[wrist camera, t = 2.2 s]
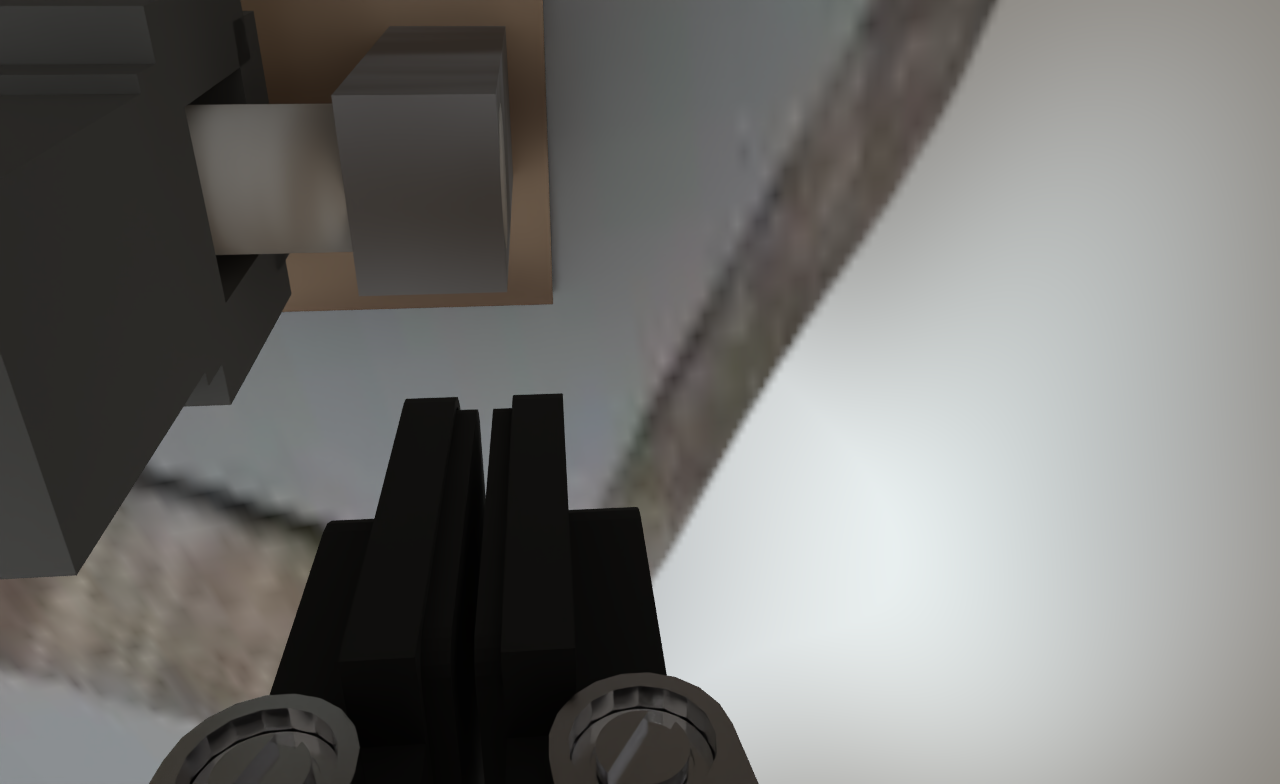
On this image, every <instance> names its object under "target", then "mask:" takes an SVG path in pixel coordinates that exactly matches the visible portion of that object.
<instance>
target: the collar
mask: <svg viewBox="0 0 1280 784" xmlns="http://www.w3.org/2000/svg"><path fill="white" fill-rule="evenodd" d="M232 104H269V99H268V93H267V87H266V81H265V75H264V70H263V64H262V58H261V52H260V46H259V40H258V34H257V28H256V22H255V16H254V11H242V7H241V1H240V0H0V579H15V578H34V577H53V576H72V575H77V574H78V572H79V571H80V569H81V567H82V566H83V564H84V563H85V561H86V559H87V558H88V556H89V555H90V553H91V552H92V550H93V548H94V547H95V545H96V544H97V542H98V541H99V539H100V537H101V536H102V534H103V533H104V531H105V530H106V528H107V526H108V525H109V523H110V522H111V520H112V518H113V517H114V515H115V514H116V512H117V511H118V509H119V507H120V506H121V504H122V503H123V501H124V500H125V498H126V496H127V495H128V493H129V492H130V490H131V488H132V487H133V485H134V484H135V482H136V481H137V479H138V477H139V476H140V474H141V473H142V471H143V470H144V468H145V466H146V465H147V463H148V462H149V460H150V459H151V457H152V455H153V454H154V452H155V451H156V449H157V447H158V446H159V444H160V443H161V441H162V440H163V438H164V436H165V435H166V433H167V432H168V430H169V429H170V427H171V425H172V424H173V422H174V421H175V419H176V417H177V416H178V414H179V413H180V411H181V410H182V408H183V406H210V405H231V404H232V402H233V400H234V398H235V396H236V395H237V393H238V391H239V389H240V387H241V385H242V384H243V382H244V380H245V378H246V376H247V375H248V373H249V371H250V369H251V367H252V365H253V364H254V362H255V360H256V358H257V356H258V354H259V353H260V351H261V349H262V347H263V345H264V344H265V342H266V340H267V338H268V336H269V334H270V333H271V331H272V329H273V327H274V325H275V323H276V322H277V320H278V318H279V316H280V314H281V313H282V311H283V309H284V307H285V305H286V303H287V302H288V300H289V298H290V296H291V288H290V282H289V276H288V271H287V265H286V259H287V257H288V255H289V254H290V253H283V254H240V255H216V254H215V250H214V245H213V240H212V235H211V231H210V226H209V221H208V216H207V212H206V207H205V202H204V197H203V193H202V188H201V183H200V178H199V174H198V169H197V164H196V159H195V155H194V150H193V145H192V140H191V136H190V131H189V126H188V121H187V117H186V112H185V106H187V105H232Z"/></svg>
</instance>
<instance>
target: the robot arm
mask: <svg viewBox="0 0 1280 784" xmlns="http://www.w3.org/2000/svg"><path fill="white" fill-rule="evenodd" d="M149 784H758V781H757V779H756V777H755V775H754V772H753V770H752V767H751V765H750V763H749V760H748V758H747V756H746V754H745V751H744V749H743V747H742V744H741V742H740V740H739V737H738V735H737V733H736V730H735V728H734V726H733V724H732V722H731V721H730V719H729V718H728V716H727V714H726V713H725V711H724V710H723V708H722V707H721V705H720V704H719V703H718V702H716V700H714V699H713V698H712V697H711V696H709V695H708V694H707V693H706V692H704V691H703V690H702V689H701V688H699V687H697V686H695V685H692V684H690V683H688V682H685V681H683V680H681V679H678V678H676V677H672V676H667V674H666V668H665V662H664V656H663V650H662V643H661V637H660V631H659V625H658V620H657V613H656V607H655V601H654V595H653V589H652V583H651V577H650V570H649V564H648V558H647V552H646V546H645V540H644V534H643V528H642V522H641V516H640V512H639V509H638V507H627V508H605V509H583V510H568V491H567V472H566V452H565V432H564V412H563V394H534V395H513V400H512V408H506V409H493V418H492V430H491V442H490V454H489V466H488V478H487V490H486V498H485V484H484V471H483V458H482V445H481V432H480V420H479V412H478V410H460V404H459V400H458V397H447V398H418V399H406V400H405V402H404V405H403V409H402V413H401V417H400V421H399V425H398V429H397V433H396V436H395V440H394V444H393V448H392V452H391V456H390V460H389V464H388V468H387V472H386V476H385V479H384V483H383V487H382V491H381V495H380V499H379V503H378V507H377V511H376V515H375V518H374V519H361V520H338V521H331V522H329V523H328V524H327V526H326V528H325V530H324V532H323V535H322V538H321V541H320V544H319V547H318V550H317V553H316V556H315V559H314V562H313V565H312V568H311V571H310V574H309V577H308V580H307V583H306V586H305V589H304V592H303V595H302V598H301V601H300V604H299V607H298V610H297V614H296V617H295V620H294V623H293V626H292V629H291V632H290V635H289V638H288V641H287V644H286V647H285V650H284V653H283V656H282V659H281V662H280V665H279V668H278V671H277V674H276V677H275V680H274V683H273V686H272V689H271V692H270V695H266V696H262V697H259V698H255V699H252V700H248V701H244V702H241V703H237V704H235V705H233V706H231V707H229V708H227V709H225V710H223V711H221V712H219V713H217V714H215V715H213V716H211V717H209V718H207V719H205V720H204V721H203V722H202V723H200V724H199V725H198V726H196V727H195V728H194V729H193V730H191V731H190V732H189V733H187V734H186V735H185V736H184V737H182V738H181V739H180V741H179V742H178V743H177V744H176V746H175V747H174V748H173V749H172V751H171V752H170V753H169V754H168V755H167V757H166V758H165V759H164V760H163V762H162V763H161V765H160V767H159V768H158V770H157V771H156V773H155V775H154V776H153V778H152V780H151V781H150V783H149Z"/></svg>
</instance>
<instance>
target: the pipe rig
mask: <svg viewBox="0 0 1280 784" xmlns="http://www.w3.org/2000/svg"><path fill="white" fill-rule="evenodd" d="M240 1H241V7H242V11H254V16H255V22H256V28H257V34H258V40H259V46H260V52H261V58H262V64H263V70H264V75H265V81H266V87H267V93H268V99H269V104H232V105H187V106H185V112H186V117H187V121H188V126H189V131H190V136H191V140H192V145H193V150H194V155H195V159H196V164H197V169H198V174H199V178H200V183H201V188H202V193H203V197H204V202H205V207H206V212H207V216H208V221H209V226H210V231H211V235H212V240H213V245H214V250H215V254H216V255H240V254H283V253H290V254H289V255H288V257H287V259H286V265H287V271H288V276H289V282H290V288H291V296H290V298H289V300H288V302H287V303H286V305H285V307H284V309H283V311H282V312H293V311H328V310H363V309H398V308H433V307H469V306H504V305H539V304H553V292H552V263H551V233H550V203H549V173H548V143H547V114H546V84H545V54H544V24H543V0H240Z"/></svg>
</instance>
